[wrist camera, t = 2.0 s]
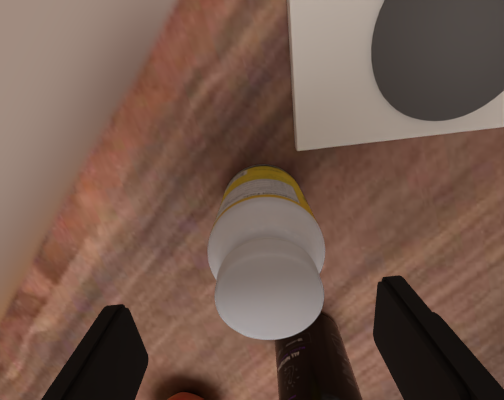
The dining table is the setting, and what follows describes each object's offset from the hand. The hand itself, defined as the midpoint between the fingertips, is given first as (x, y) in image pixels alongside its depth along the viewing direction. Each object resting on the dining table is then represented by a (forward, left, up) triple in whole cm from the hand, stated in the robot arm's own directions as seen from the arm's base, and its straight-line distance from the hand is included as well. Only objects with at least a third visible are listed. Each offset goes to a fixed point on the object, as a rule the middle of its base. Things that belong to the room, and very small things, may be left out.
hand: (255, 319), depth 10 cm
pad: (-14, -10, -12) cm, 20 cm away
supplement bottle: (-4, +16, -13) cm, 21 cm away
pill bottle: (-1, 0, -13) cm, 13 cm away
